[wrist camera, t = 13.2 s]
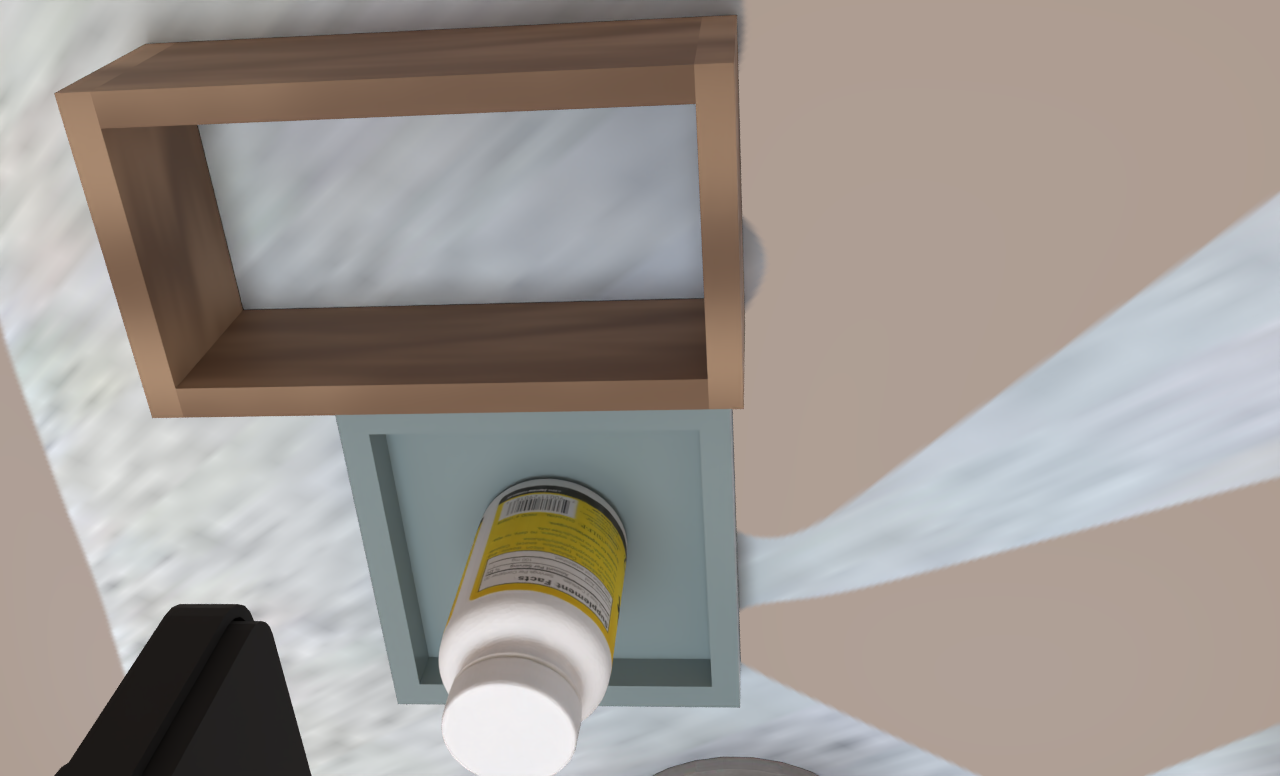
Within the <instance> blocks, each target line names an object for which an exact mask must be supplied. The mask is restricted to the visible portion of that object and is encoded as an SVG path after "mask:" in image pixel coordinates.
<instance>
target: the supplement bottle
mask: <svg viewBox="0 0 1280 776" xmlns="http://www.w3.org/2000/svg"><path fill="white" fill-rule="evenodd" d="M626 561H627V539H626V533H625V530H624V527H623V524H622V523H621V521H620V519H619V517H618V515H617V514H616V512H615V511H614V510H613V508H612V507H611V506H610V505H609V504H608V503H607V502H606V501H605V500H604V499H602V498H601V497H600V496H599V495H597V494H596V493H594V492H593V491H591V490H589V489H587V488H585V487H583V486H581V485H578V484H576V483H573V482H569V481H564V480H558V479H536V480H530V481H526V482H522V483H520V484H517V485H515V486H513V487H511V488H509V489H507V490H506V491H504V492H502V493H501V494H500V495H499V496H497V497H496V498H495V499H494V500H493V502H492V503H491V504H490V505H489V506H488V508H487V509H486V511H485V513H484V515H483V517H482V519H481V522H480V524H479V527H478V530H477V533H476V535H475V539H474V541H473V544H472V547H471V551H470V554H469V557H468V560H467V563H466V566H465V569H464V572H463V575H462V578H461V581H460V584H459V587H458V590H457V594H456V597H455V600H454V603H453V606H452V609H451V612H450V615H449V618H448V621H447V624H446V627H445V630H444V633H443V637H442V641H441V645H440V649H439V670H440V675H441V678H442V682H443V684H444V686H445V688H446V690H447V692H448V694H449V695H448V698H447V702H446V705H445V709H444V713H443V716H442V725H441V729H442V735H443V739H444V742H445V745H446V747H447V748H448V750H449V752H450V753H451V754H452V756H453V757H454V758H455V759H456V760H457V761H458V762H459V763H460V764H461V765H462V766H464V767H465V768H466V769H468V770H469V771H471V772H473V773H475V774H477V775H479V776H553V775H554V774H556V773H558V772H559V771H560V770H561V769H563V768H564V767H565V766H566V765H567V763H568V762H569V761H570V759H571V758H572V756H573V754H574V751H575V749H576V745H577V739H578V734H579V729H580V726H581V722H582V721H583V720H585V719H586V718H587V717H588V716H590V715H591V714H592V712H593V711H594V710H595V709H596V708H597V707H598V705H599V704H600V703H601V701H602V699H603V697H604V695H605V693H606V690H607V687H608V684H609V679H610V675H611V670H612V663H613V655H614V647H615V640H616V633H617V626H618V619H619V612H620V605H621V597H622V590H623V583H624V576H625V569H626Z"/></svg>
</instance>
